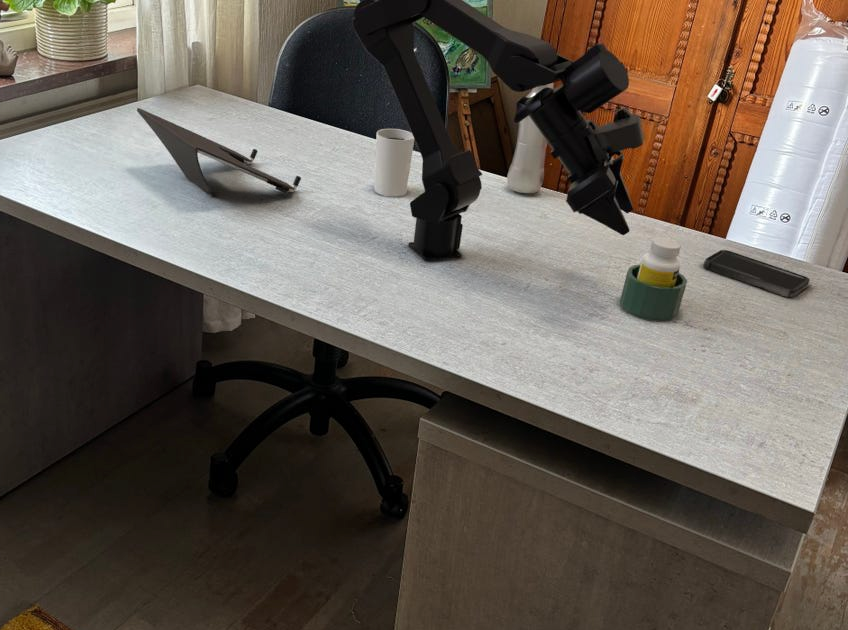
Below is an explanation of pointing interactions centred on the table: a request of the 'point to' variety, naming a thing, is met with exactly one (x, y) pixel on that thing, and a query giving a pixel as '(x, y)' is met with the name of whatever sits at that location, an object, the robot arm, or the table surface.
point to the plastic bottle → (528, 155)
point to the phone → (757, 273)
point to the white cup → (393, 161)
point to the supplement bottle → (660, 263)
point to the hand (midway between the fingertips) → (628, 222)
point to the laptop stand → (205, 153)
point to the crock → (651, 297)
